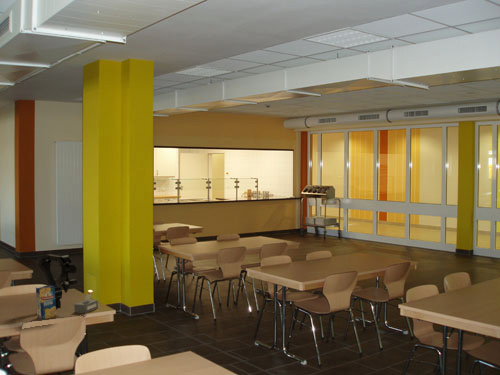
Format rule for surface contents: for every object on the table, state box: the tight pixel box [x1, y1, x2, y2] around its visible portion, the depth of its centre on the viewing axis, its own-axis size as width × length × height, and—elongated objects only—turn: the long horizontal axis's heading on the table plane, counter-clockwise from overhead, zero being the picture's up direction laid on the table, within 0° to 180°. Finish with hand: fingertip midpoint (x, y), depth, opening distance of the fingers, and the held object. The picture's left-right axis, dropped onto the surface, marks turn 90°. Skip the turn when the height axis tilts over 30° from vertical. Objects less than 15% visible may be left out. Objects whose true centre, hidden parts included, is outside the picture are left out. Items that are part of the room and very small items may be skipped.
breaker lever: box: [83, 289, 94, 301], centre depth 393 cm, size 2×4×8 cm, turn 159°
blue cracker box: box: [35, 284, 57, 320], centre depth 380 cm, size 7×11×22 cm, turn 134°
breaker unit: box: [73, 299, 99, 314], centre depth 395 cm, size 10×14×6 cm
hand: (65, 292), depth 398 cm, fingers closed
